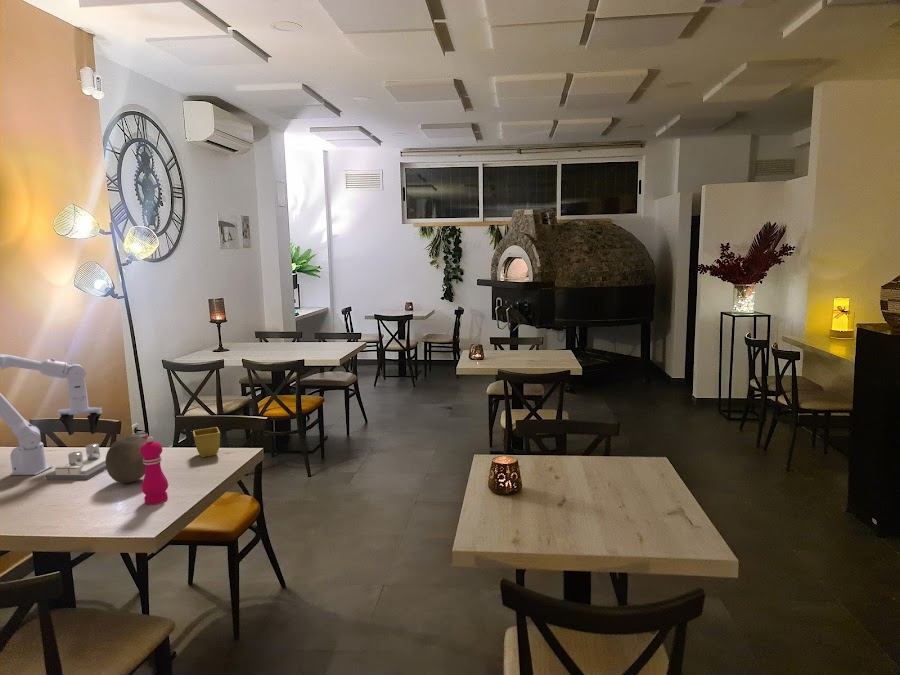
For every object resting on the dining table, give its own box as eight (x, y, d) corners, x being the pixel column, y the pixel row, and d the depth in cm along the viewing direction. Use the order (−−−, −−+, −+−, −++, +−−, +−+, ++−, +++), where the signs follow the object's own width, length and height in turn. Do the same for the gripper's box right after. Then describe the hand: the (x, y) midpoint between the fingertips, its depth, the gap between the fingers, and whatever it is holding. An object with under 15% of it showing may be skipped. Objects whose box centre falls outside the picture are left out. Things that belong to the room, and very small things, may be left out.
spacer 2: (84, 460, 211) (83, 447, 210) (92, 456, 215) (90, 443, 214) (95, 460, 211) (93, 447, 210) (102, 456, 214) (101, 443, 214)
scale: (46, 479, 200) (44, 467, 199) (81, 461, 217) (79, 450, 216) (88, 479, 199) (87, 467, 198) (120, 461, 216) (118, 450, 215)
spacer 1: (67, 469, 202) (65, 455, 202) (76, 465, 206) (74, 451, 206) (77, 469, 202) (75, 455, 201) (86, 465, 206) (84, 451, 205)
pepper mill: (158, 506, 176) (152, 441, 173) (137, 504, 177) (130, 440, 174) (174, 496, 183) (168, 433, 180) (154, 495, 184) (147, 432, 181)
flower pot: (194, 453, 223) (192, 430, 221) (219, 449, 227) (217, 426, 225) (196, 460, 215) (194, 436, 214) (222, 456, 219) (220, 432, 218)
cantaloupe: (112, 493, 186) (107, 447, 184) (104, 480, 197) (99, 437, 195) (161, 481, 195) (156, 437, 193) (150, 470, 206) (146, 428, 204)
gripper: (50, 400, 209) (55, 438, 211) (93, 398, 210) (98, 435, 212) (61, 396, 216) (66, 432, 218) (103, 394, 217) (107, 430, 219)
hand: (82, 433), depth 216 cm, fingers open, 7 cm apart
